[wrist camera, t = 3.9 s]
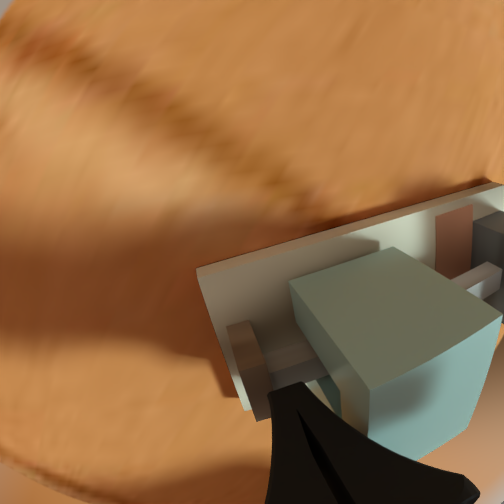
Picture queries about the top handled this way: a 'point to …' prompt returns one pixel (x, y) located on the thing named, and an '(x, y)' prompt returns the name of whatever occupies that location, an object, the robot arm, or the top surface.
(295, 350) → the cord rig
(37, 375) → the top surface
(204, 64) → the top surface
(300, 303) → the sleeve
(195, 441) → the top surface
